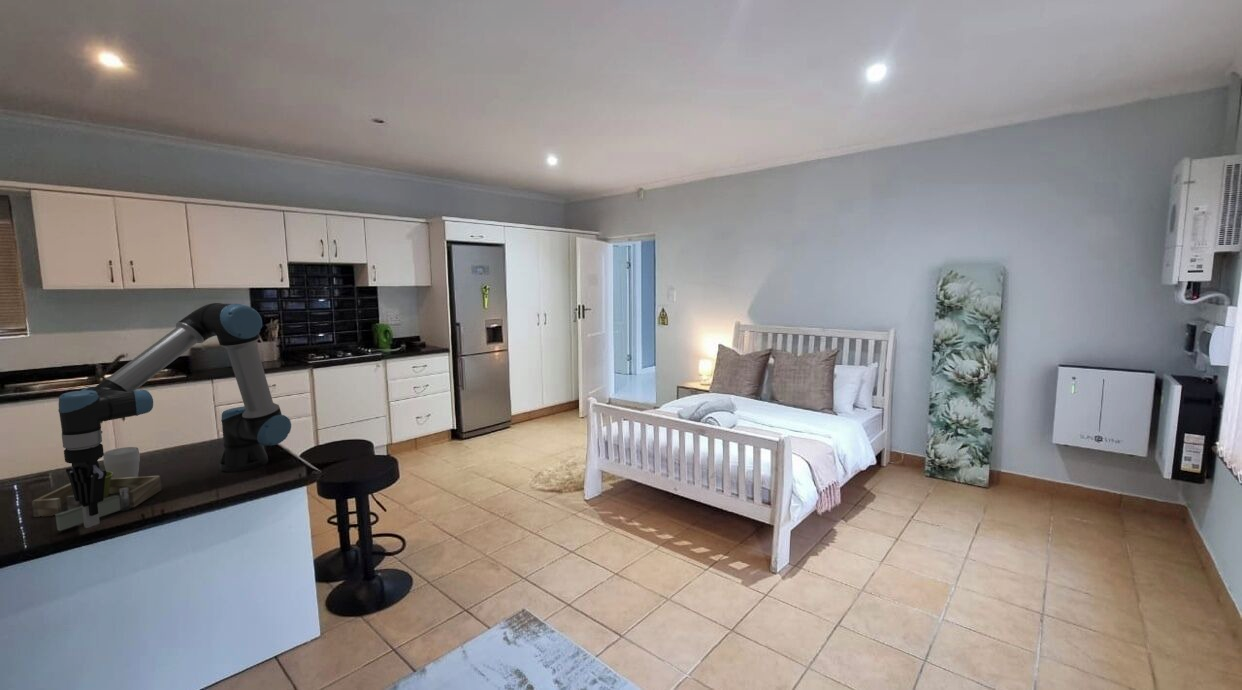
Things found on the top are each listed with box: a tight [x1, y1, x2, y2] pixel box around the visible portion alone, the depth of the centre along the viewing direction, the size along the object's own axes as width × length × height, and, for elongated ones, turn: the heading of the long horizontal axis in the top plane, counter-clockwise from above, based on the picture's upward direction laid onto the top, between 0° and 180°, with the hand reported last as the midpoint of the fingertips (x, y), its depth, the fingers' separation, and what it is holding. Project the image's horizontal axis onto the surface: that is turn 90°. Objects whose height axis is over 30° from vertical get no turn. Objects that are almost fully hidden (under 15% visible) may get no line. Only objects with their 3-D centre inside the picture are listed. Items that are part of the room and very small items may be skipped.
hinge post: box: [119, 487, 131, 512], centre depth 156 cm, size 2×2×7 cm
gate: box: [54, 494, 121, 532], centre depth 147 cm, size 14×1×5 cm, turn 164°
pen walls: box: [31, 475, 162, 518], centre depth 160 cm, size 24×16×5 cm
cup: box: [102, 446, 141, 478], centre depth 174 cm, size 9×9×12 cm
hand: (92, 525), depth 143 cm, fingers closed
